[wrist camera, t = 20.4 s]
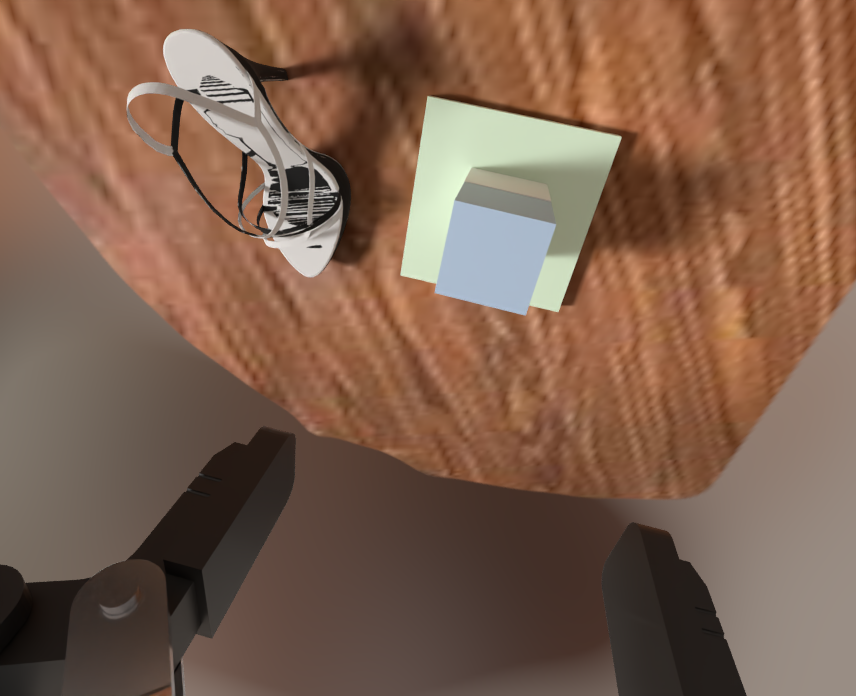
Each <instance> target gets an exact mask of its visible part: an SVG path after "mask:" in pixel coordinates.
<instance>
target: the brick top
mask: <svg viewBox="0 0 856 696" xmlns="http://www.w3.org/2000/svg"><path fill="white" fill-rule="evenodd" d="M555 227H556V221H555V216H554V212H553V208H552V203H551V202H549V201H545V200H541V199H537V198H532V197H528V196H524V195H520V194H515V193H511V192H507V191H503V190H498V189H494V188H490V187H485V186H481V185H477V184H473V183H468V182H464V184H463V185H462V187H461V189H460V191H459V193H458V195H457V196H456V198H455V200H454V205H453V209H452V214H451V219H450V223H449V228H448V233H447V238H446V242H445V247H444V252H443V256H442V261H441V266H440V270H439V275H438V280H437V284H436V289H435V293H437V294H441V295H445V296H449V297H453V298H457V299H461V300H465V301H469V302H473V303H477V304H481V305H485V306H489V307H493V308H497V309H502V310H506V311H510V312H514V313H518V314H522V315H526V313H527V310H528V307H529V304H530V301H531V298H532V295H533V292H534V289H535V286H536V283H537V280H538V277H539V274H540V271H541V268H542V265H543V262H544V259H545V256H546V254H547V251H548V248H549V245H550V242H551V239H552V236H553V233H554V230H555Z"/></svg>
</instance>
